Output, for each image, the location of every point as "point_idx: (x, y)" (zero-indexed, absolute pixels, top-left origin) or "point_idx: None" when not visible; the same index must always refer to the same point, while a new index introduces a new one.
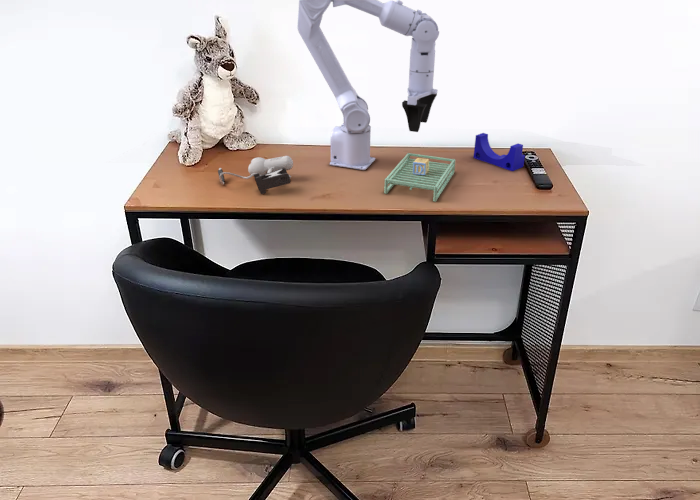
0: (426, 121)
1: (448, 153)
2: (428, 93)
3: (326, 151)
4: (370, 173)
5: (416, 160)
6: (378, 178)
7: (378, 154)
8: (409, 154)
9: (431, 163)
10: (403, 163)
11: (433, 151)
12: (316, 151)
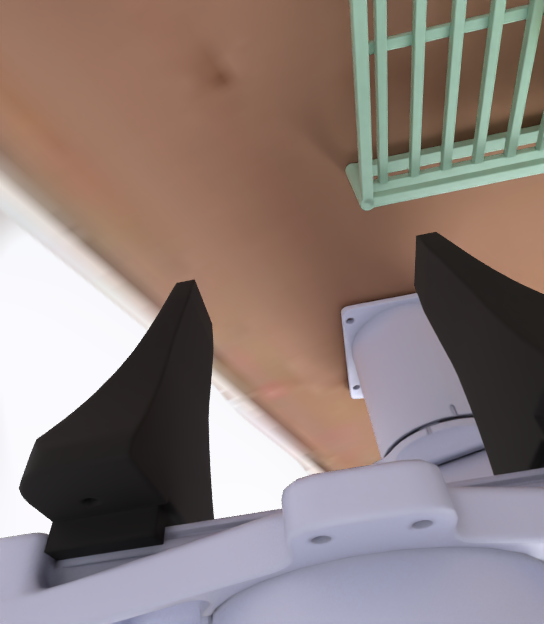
0: (194, 283)
1: (25, 71)
2: (518, 515)
3: (340, 427)
4: (484, 255)
5: None
6: (532, 206)
7: (277, 323)
8: (372, 194)
9: (384, 30)
10: (451, 173)
11: (73, 164)
12: (353, 440)
